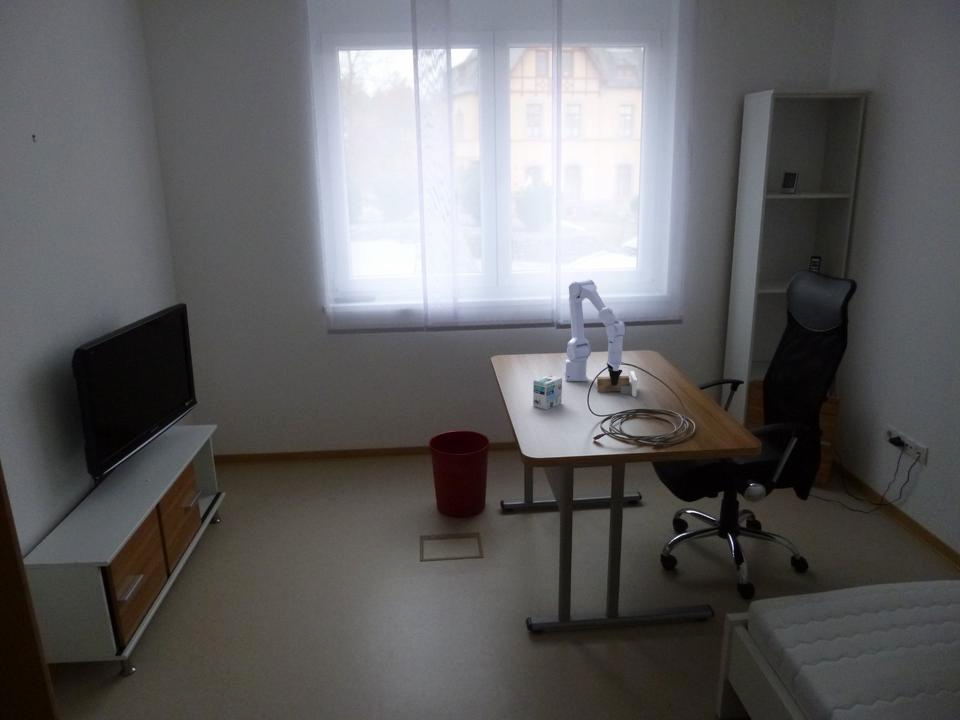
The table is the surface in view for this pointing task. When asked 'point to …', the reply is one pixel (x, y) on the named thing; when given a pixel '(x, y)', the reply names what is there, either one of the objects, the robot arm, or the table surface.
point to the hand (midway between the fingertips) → (613, 382)
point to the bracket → (630, 385)
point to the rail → (605, 383)
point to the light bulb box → (547, 392)
